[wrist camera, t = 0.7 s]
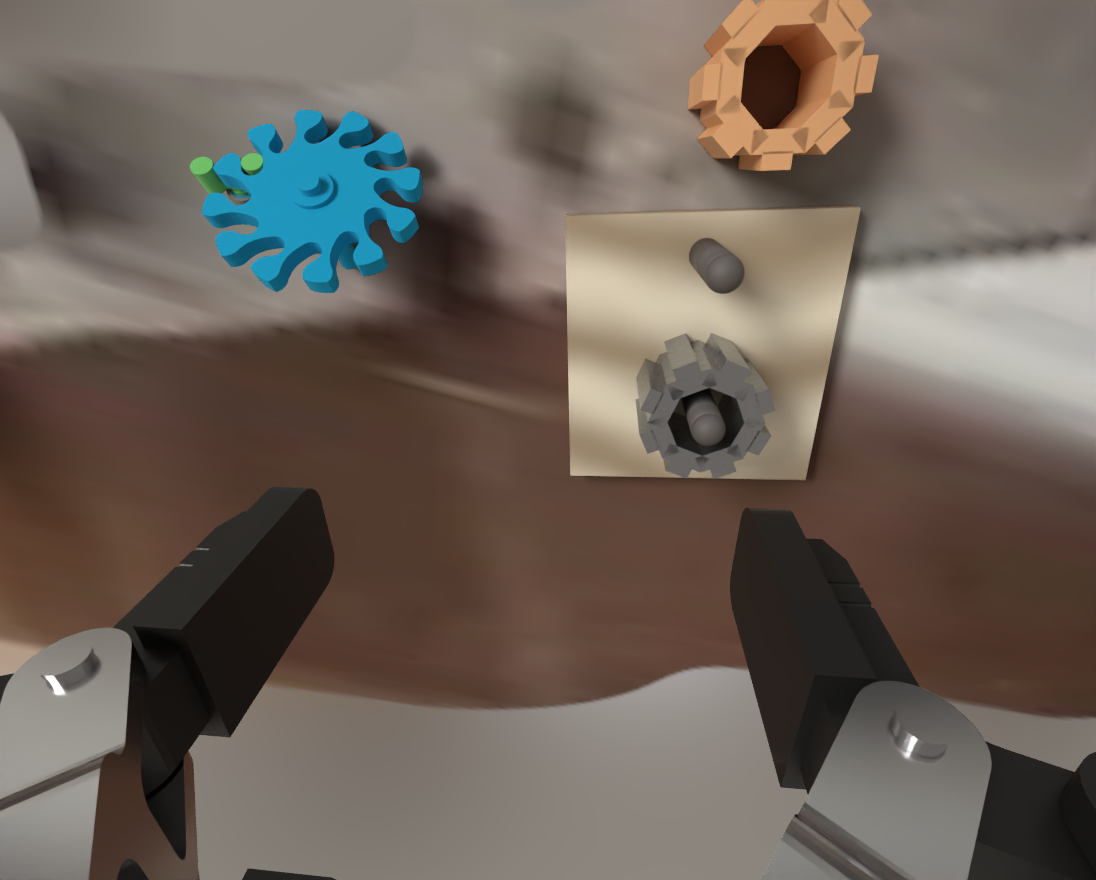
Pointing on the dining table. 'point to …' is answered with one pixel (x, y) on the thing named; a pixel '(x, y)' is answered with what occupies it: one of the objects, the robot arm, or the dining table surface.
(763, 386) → the gear
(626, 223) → the peg board
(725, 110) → the gear
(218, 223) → the blue sprocket wheel
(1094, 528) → the dining table surface
